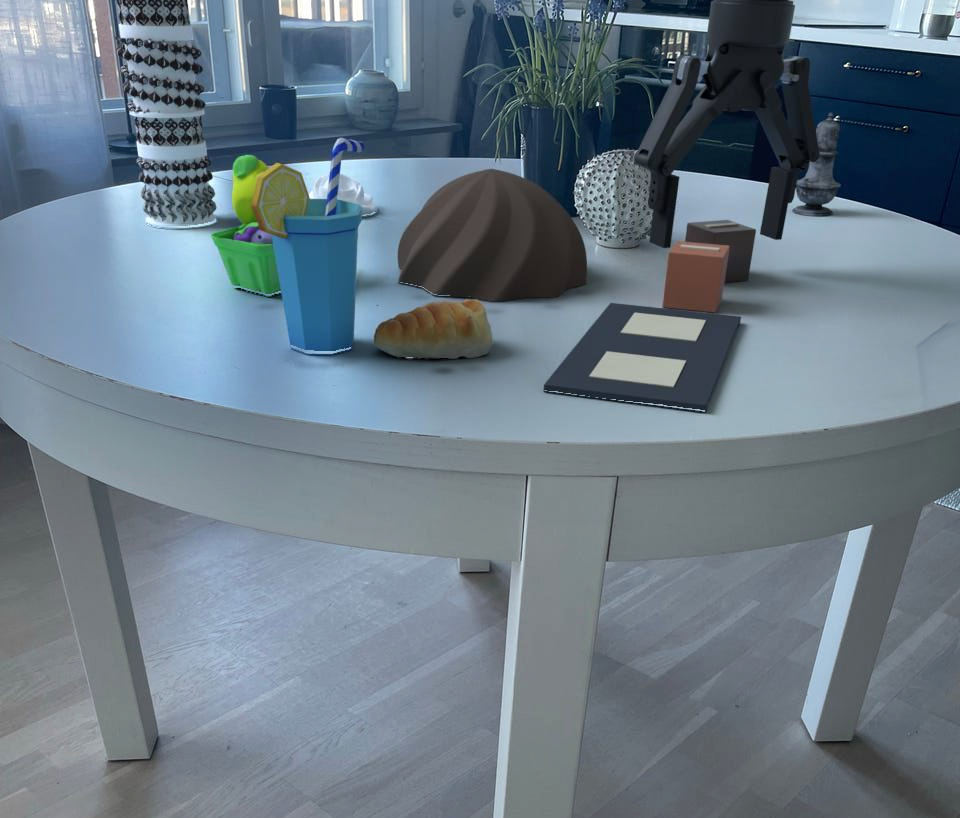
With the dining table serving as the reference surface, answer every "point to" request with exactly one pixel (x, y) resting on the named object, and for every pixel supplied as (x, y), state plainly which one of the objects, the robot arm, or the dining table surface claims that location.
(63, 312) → the dining table surface
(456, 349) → the pastry
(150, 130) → the bracelet display cylinder
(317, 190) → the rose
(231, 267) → the fruit basket
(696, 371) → the word mat
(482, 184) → the decorative dome
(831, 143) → the salt shaker
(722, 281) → the letter block
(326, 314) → the cup
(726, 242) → the letter block
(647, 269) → the dining table surface
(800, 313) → the dining table surface
